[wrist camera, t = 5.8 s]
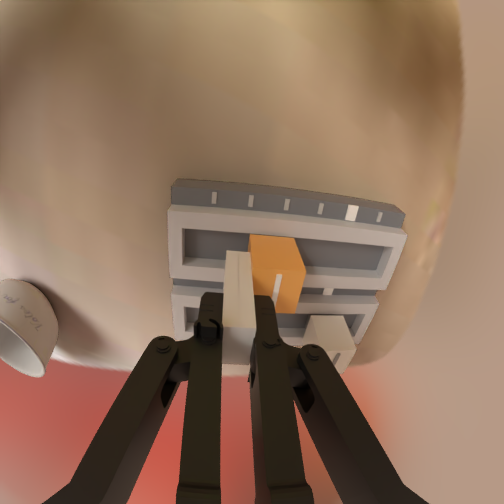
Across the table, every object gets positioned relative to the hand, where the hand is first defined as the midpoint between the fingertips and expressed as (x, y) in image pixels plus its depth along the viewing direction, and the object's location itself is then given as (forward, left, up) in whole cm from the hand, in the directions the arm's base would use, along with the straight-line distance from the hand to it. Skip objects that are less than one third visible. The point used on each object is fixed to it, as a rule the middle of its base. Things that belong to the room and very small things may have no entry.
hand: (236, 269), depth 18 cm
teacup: (+11, -26, -5) cm, 29 cm away
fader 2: (+7, +8, -3) cm, 11 cm away
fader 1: (0, +2, -3) cm, 4 cm away
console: (+3, +4, -5) cm, 7 cm away
